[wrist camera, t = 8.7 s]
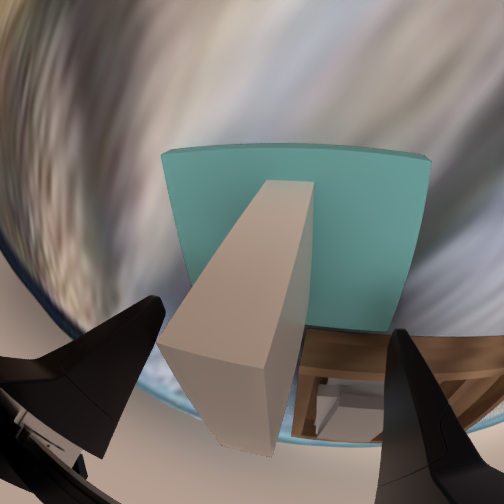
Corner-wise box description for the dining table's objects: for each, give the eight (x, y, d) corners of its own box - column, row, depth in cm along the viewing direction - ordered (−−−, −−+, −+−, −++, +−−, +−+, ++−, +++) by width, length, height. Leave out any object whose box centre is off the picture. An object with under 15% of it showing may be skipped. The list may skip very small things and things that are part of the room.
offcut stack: (412, 365, 15) (414, 401, 13) (371, 420, 21) (369, 446, 19) (323, 359, 17) (317, 397, 15) (309, 416, 23) (304, 442, 21)
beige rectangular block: (314, 181, 11) (263, 368, 4) (308, 305, 14) (271, 457, 8) (266, 179, 11) (155, 342, 4) (273, 301, 15) (221, 445, 8)
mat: (424, 155, 9) (431, 161, 8) (386, 319, 15) (387, 331, 14) (171, 149, 13) (160, 154, 12) (204, 297, 18) (198, 308, 17)
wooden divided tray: (530, 333, 11) (540, 361, 9) (456, 415, 20) (457, 436, 17) (307, 328, 17) (299, 365, 15) (296, 412, 25) (290, 436, 23)
